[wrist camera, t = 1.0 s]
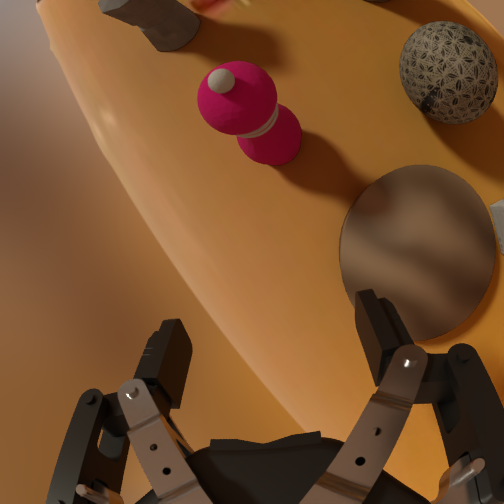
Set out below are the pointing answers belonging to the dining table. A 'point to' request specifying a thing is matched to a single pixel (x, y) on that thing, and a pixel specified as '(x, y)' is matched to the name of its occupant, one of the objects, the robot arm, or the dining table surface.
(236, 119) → the pepper mill
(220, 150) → the dining table surface
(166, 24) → the coffeepot
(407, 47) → the decorative egg
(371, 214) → the walnut base
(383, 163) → the dining table surface
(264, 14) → the dining table surface
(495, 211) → the supplement box
